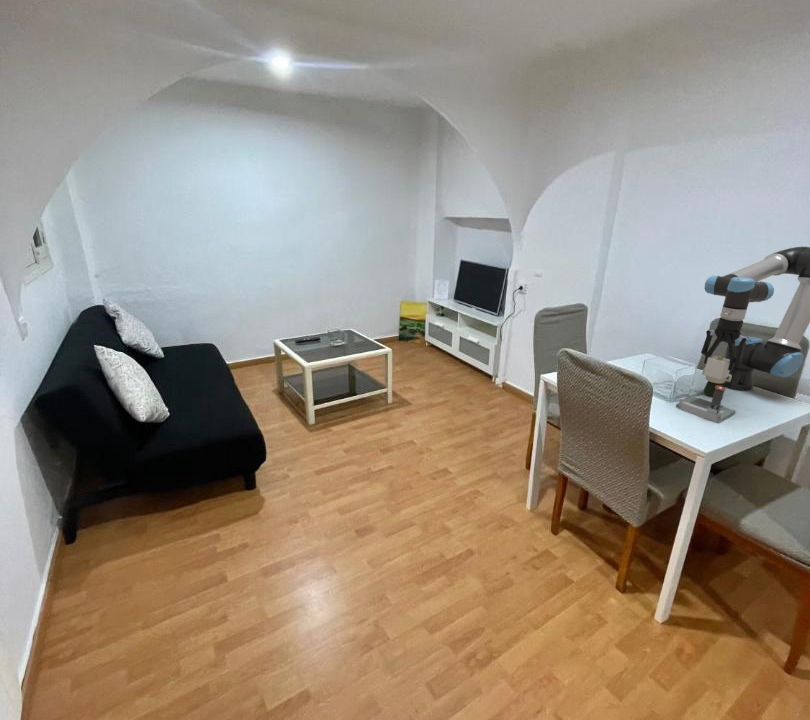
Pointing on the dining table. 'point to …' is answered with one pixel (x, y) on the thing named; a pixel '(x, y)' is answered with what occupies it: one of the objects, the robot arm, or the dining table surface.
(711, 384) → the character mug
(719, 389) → the lever
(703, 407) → the base plate
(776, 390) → the dining table surface
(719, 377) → the housing
